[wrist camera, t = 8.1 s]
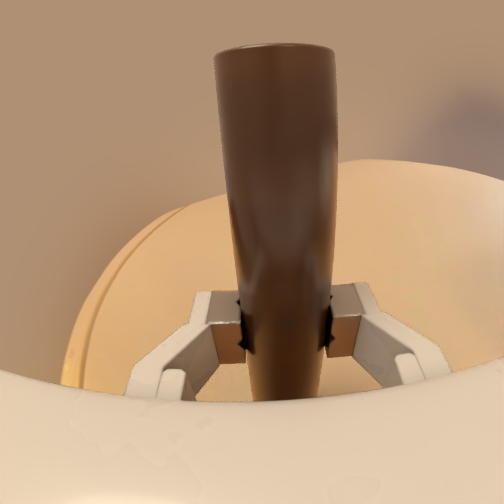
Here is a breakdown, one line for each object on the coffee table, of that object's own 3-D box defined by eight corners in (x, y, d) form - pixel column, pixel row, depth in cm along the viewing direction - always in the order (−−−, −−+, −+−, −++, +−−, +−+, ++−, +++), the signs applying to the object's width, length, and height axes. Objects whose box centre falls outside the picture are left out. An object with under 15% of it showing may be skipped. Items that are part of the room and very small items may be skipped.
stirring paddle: (311, 481, 12) (372, 34, 3) (259, 484, 12) (190, 38, 3) (303, 405, 16) (312, 60, 8) (259, 408, 16) (225, 64, 8)
